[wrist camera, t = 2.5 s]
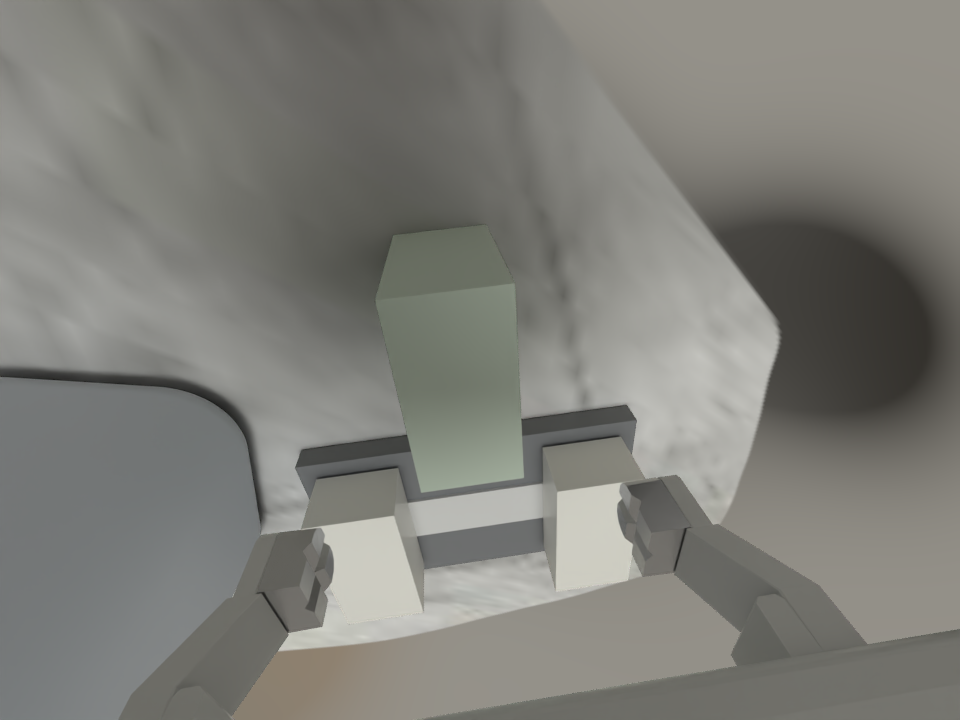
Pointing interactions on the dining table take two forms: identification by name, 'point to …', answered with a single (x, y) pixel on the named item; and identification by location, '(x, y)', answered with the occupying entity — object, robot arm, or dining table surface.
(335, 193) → the dining table surface
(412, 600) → the board
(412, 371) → the block
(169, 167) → the dining table surface
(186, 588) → the plastic bottle
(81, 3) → the dining table surface
